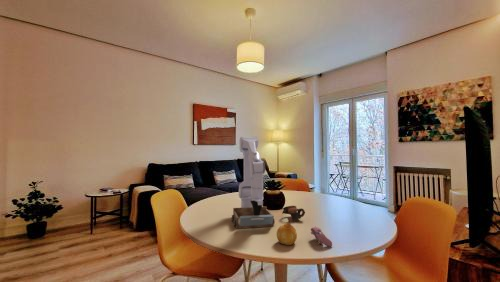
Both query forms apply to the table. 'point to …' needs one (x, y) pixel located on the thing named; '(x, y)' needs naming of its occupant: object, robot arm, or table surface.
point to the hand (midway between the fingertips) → (256, 216)
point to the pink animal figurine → (320, 236)
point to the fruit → (286, 234)
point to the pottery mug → (293, 213)
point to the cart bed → (248, 212)
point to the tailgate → (256, 220)
